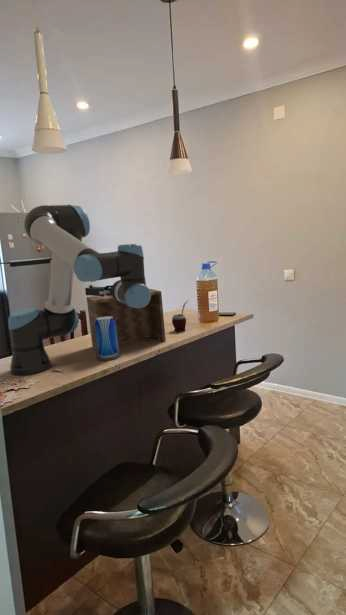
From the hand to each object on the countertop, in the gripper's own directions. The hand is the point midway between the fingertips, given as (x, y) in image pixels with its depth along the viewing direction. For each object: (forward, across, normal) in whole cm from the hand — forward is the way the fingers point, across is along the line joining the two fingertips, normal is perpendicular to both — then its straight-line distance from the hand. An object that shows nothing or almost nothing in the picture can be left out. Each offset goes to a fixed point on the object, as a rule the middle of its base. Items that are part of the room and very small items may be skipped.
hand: (107, 286), depth 156 cm
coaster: (+10, 0, -30) cm, 32 cm away
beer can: (+9, 0, -30) cm, 31 cm away
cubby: (+24, +14, -30) cm, 42 cm away
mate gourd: (+32, +44, -31) cm, 63 cm away
